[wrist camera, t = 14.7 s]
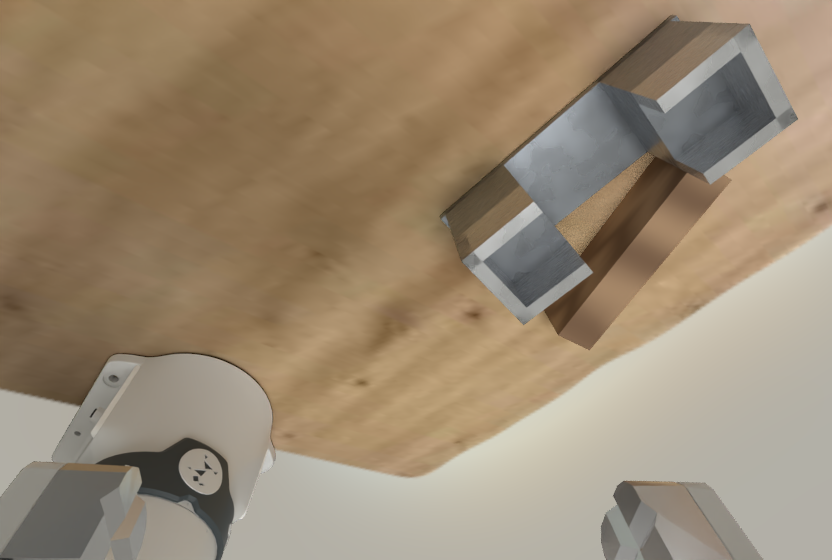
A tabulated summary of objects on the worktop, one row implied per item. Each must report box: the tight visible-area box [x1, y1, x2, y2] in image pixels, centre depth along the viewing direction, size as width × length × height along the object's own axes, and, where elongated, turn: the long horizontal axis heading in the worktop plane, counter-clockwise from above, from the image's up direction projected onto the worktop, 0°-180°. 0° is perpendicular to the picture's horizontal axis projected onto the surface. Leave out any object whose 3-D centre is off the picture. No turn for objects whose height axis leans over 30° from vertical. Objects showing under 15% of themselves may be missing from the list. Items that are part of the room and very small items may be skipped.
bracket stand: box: [440, 16, 798, 325], centre depth 37 cm, size 22×7×10 cm, turn 132°
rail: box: [544, 157, 731, 350], centre depth 43 cm, size 17×3×5 cm, turn 150°
